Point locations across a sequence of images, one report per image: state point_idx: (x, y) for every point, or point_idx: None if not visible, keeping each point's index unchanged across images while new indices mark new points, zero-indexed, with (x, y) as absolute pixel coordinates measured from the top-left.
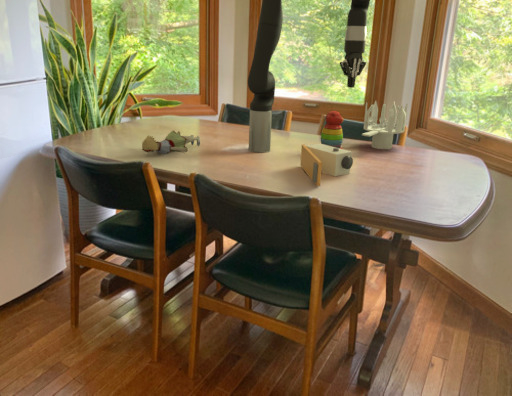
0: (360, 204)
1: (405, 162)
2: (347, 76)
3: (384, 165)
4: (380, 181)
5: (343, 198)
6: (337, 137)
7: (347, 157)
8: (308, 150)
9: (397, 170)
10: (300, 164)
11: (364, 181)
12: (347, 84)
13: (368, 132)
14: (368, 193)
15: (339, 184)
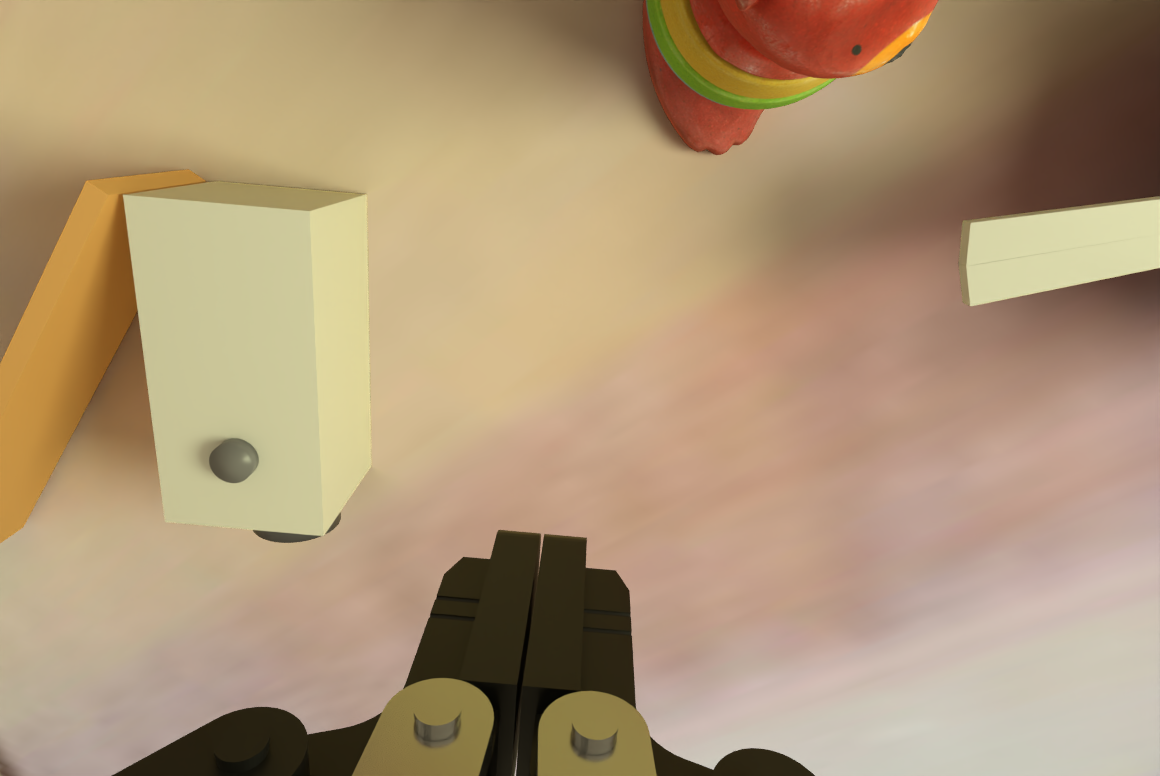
0: (50, 743)
1: (890, 538)
2: (370, 720)
3: (708, 497)
4: (391, 642)
5: (33, 670)
6: (717, 97)
7: (264, 538)
8: (11, 361)
9: (663, 596)
10: (184, 171)
11: (317, 596)
12: (444, 581)
13: (1089, 225)
14: (187, 697)
15: (159, 551)
